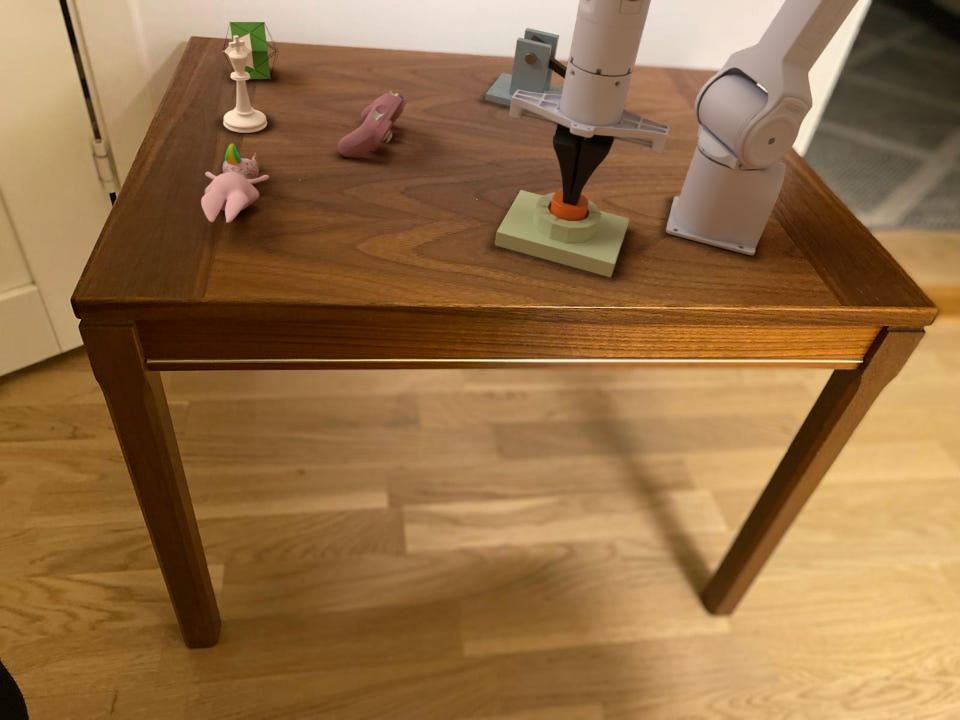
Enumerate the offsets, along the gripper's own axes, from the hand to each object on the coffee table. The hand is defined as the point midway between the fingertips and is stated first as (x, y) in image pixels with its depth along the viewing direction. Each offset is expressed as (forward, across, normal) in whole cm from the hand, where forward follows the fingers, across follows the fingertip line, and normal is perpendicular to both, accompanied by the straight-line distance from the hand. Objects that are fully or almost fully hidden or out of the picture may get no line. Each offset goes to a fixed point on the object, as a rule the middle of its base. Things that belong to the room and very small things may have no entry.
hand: (571, 199), depth 74 cm
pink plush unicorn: (+5, -32, -10) cm, 34 cm away
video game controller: (+5, -25, +9) cm, 27 cm away
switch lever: (+1, -9, +31) cm, 32 cm away
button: (+2, 0, 0) cm, 2 cm away
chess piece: (+5, -40, +6) cm, 41 cm away
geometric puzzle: (+5, -46, +18) cm, 50 cm away
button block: (+5, 0, 0) cm, 5 cm away
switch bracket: (+5, -12, +31) cm, 34 cm away
